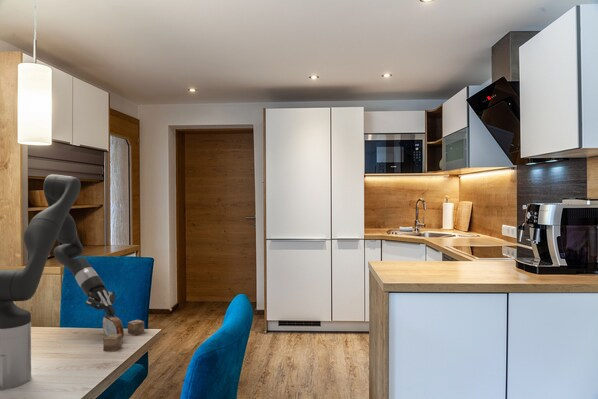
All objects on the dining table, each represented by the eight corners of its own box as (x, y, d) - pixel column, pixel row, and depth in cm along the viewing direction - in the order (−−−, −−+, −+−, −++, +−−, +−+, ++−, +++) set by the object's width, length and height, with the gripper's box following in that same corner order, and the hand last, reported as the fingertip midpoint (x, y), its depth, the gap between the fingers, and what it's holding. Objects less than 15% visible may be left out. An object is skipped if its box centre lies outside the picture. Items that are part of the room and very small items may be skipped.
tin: (124, 342, 152) (124, 319, 151) (115, 344, 149) (115, 321, 149) (109, 332, 162) (109, 311, 162) (101, 334, 160) (101, 313, 160)
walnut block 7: (133, 335, 158) (133, 324, 158) (127, 333, 161) (127, 321, 161) (144, 332, 162) (144, 321, 162) (138, 330, 165) (138, 319, 165)
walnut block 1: (115, 351, 143) (115, 338, 142) (103, 351, 143) (103, 338, 143) (121, 346, 147) (121, 333, 147) (110, 346, 147) (110, 333, 147)
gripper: (79, 278, 153) (103, 313, 149) (107, 272, 165) (130, 304, 161) (69, 291, 155) (93, 326, 151) (98, 284, 167) (121, 316, 163)
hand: (112, 314), depth 156 cm, fingers closed
